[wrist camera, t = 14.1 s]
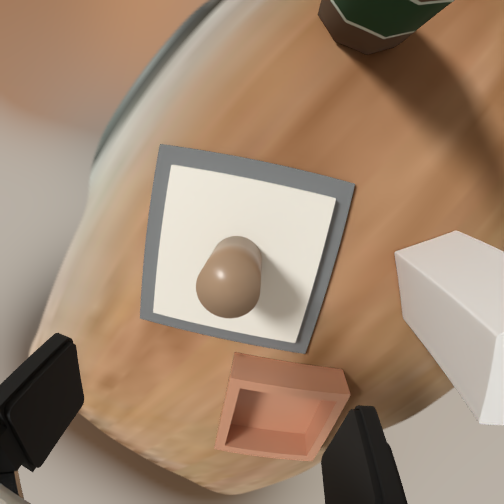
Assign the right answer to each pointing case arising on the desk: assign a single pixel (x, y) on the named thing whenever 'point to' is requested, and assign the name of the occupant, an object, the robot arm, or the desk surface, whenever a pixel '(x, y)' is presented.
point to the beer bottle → (376, 21)
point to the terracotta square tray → (279, 408)
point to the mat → (259, 172)
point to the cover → (239, 252)
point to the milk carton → (459, 314)
